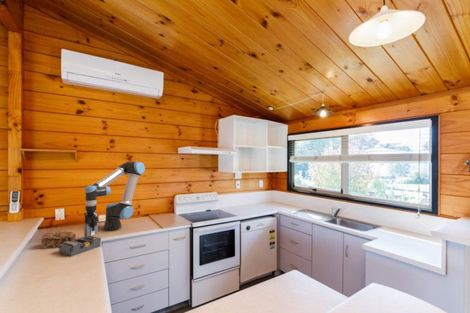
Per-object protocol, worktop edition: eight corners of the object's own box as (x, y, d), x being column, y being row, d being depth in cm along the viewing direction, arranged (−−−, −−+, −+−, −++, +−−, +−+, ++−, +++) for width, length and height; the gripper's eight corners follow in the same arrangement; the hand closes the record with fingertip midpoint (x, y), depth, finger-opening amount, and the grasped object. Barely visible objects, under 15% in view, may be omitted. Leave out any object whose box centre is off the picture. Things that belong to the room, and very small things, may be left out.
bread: (40, 249, 166) (40, 235, 166) (47, 244, 176) (47, 231, 177) (70, 247, 172) (71, 233, 172) (76, 242, 182) (76, 229, 182)
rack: (88, 243, 180) (89, 234, 180) (101, 246, 174) (101, 236, 174) (59, 253, 160) (59, 242, 161) (71, 256, 155) (72, 246, 155)
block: (95, 232, 192) (95, 220, 192) (97, 233, 191) (97, 221, 191) (84, 236, 184) (84, 223, 184) (87, 236, 183) (86, 224, 183)
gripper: (79, 205, 187) (79, 234, 187) (93, 207, 181) (93, 237, 181) (88, 203, 194) (88, 231, 194) (102, 205, 187) (102, 234, 188)
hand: (90, 234), depth 187 cm, fingers closed on block, 3 cm apart
